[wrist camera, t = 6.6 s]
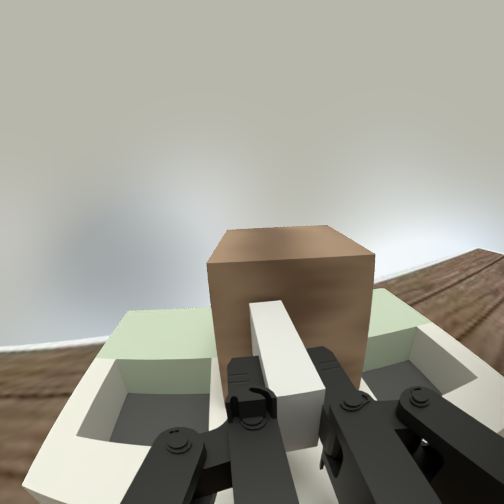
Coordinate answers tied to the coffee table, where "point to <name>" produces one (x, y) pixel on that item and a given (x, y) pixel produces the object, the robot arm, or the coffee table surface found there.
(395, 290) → the coffee table surface
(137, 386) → the box
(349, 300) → the walnut block
